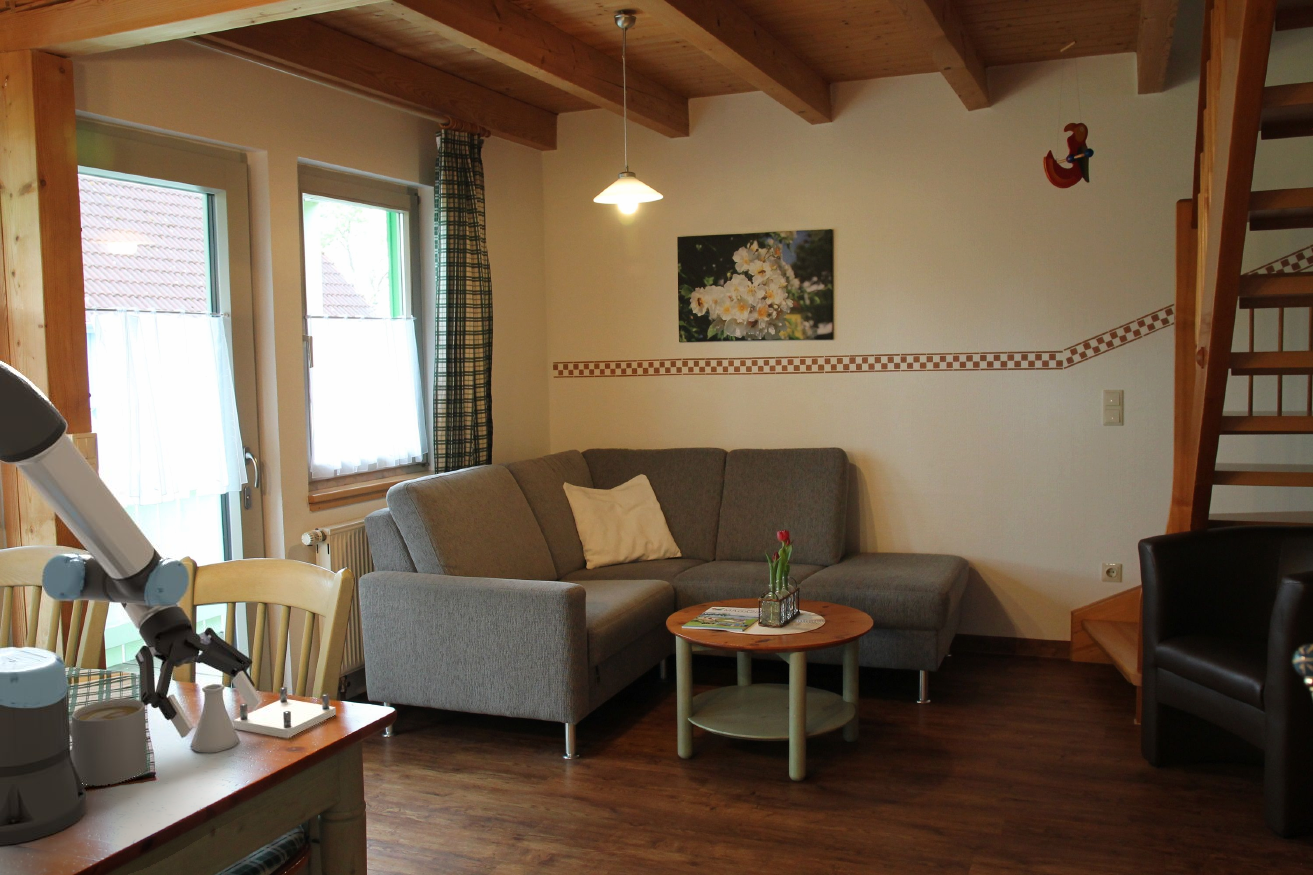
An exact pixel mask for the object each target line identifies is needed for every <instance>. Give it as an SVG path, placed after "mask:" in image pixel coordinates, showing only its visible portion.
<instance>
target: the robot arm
mask: <svg viewBox="0 0 1313 875" xmlns="http://www.w3.org/2000/svg"><path fill="white" fill-rule="evenodd" d="M68 427H69V425H68V422H67V421H66V419H65V417H63V415H62V413H61V412H60V411H59V410H58V408H56V406H55V405H54V404H53V402H52V401H50V399H49V398H48V397H47V396H46V394H44V393H43V392H42V391H41V390H40V389H39V388H38V387H37V386H36V385H35V384H34V383H33V382H32V381H30V380H29V379H28V378H27V377H26V376H24V375H23V374H22V373H20V372H19V371H18V370H17V369H15V368H14V367H12V366H10V365H9V364H7V363H5V362H3V361H1V360H0V462H1V463H4V464H7V465H14V466H15V467H16V468H17V470H18V471H19V472H20V473H21V474H22V475H23V476H24V478H25V479H26V480H27V481H28V483H29V484H30V485H31V486H32V487H33V488H34V490H35V491H36V492H37V493H38V494H39V495H40V497H42V499H43V500H44V501H45V502H46V504H47V505H48V506H49V507H50V508H51V509H52V510H53V512H54V513H55V514H56V515H57V516H58V518H59V519H60V520H61V522H63V524H65V526H66V527H67V528H68V529H69V531H70V532H71V533H72V534H73V536H74V537H75V538H76V539H77V540H78V542H80V543H81V545H82V546H83V547H84V548H85V550H87V552H88V553H87V552H86V553H85V552H84V553H83V552H70V553H62V554H61V553H60V554H56V555H55V556H53V557H51V558H50V559H49V560H48V561H47V562H46V564H45V565H44V568H43V571H42V578H41V583H42V588H43V591H45V594H46V595H47V596H49V598H51V599H53V600H55V601H67V602H74V601H93V602H103V603H104V602H105V603H113V604H114V603H119V604H121V606H122V608H123V609H124V611H125V612H126V614H127V616H128V618H129V619H130V620H131V622H132V623H133V625H134V627H135V628H136V629H137V630H138V633H139V635H140V637H141V638H142V640H143V641H144V643H145V644H146V645H142V646H141V648H140V649H139V650H138V652H137V653H136V654H135V656H134V658H135V661H136V662H137V664H138V667H139V668H138V669H139V685H140V686H139V689H140V701H142V702H143V703H144V705H145V707H146V706H148V705H150V706H151V708H153V709H159V711H160V712H161V714H162V715H163V717H164V719H165V720H167V721H171V723H172V724H173V726H174V727H175V729H176V731H177V733H179V736H180V737H181V739H183V738H185V737H187V736H188V734H190V732H191V731H192V730H193V729H194V724H193V723H192V722H191V720H190V718H189V716H188V715H187V714H186V712H185V710H184V709H183V707H182V706H181V704H180V703H179V702H180V701H178V699H177V698H176V696H175V695H174V693H173V694H169V689H170V686H171V681H172V675H173V672H174V668H180V667H182V666H183V665H189V664H192V663H193V662H195V664H196V663H197V664H203V665H206V666H208V667H211V668H213V669H215V670H217V671H219V672H221V673H224V674H226V675H228V676H230V677H232V678H233V679H232V680H231V682H232V684H233V685H234V687H235V689H236V690H237V692H238V693H239V695H240V696H241V698H242V700H243V701H244V702H245V704H247V708H249V710H250V712H253V711H256V710H257V708H258V707H259V706H260V705H261V703H262V702H263V699H262V698H261V696H260V695H259V693H258V692H257V690H256V689H255V688H254V687H255V686H256V684H255V682H254V681H253V679H252V678H251V676H250V674H249V672H248V669H249V668H250V667H251V666H252V665H253V660H252V659H251V658H250V657H248V656H247V655H245V654H244V653H242V652H241V651H240V650H239V649H237V648H235V647H234V646H233V645H231V644H230V643H228V642H227V641H226V640H224V639H223V638H221V637H220V636H218V634H217V633H216V632H215V630H214V629H213V628H211V627H207V628H205V631H203V632H200V633H197V632H195V631H194V630H193V626H192V622H191V620H190V618H189V617H188V615H187V614H186V612H185V610H184V608H182V607H180V603H179V602H180V601H181V600H182V599H183V597H184V596H185V595H186V593H187V591H188V590H189V589H188V588H189V585H190V574H189V570H188V568H187V566H186V565H185V564H184V563H183V562H182V561H180V560H177V559H173V558H170V557H166V558H164V557H162V556H161V554H160V553H159V552H158V551H157V549H155V547H154V546H153V545H152V543H151V542H150V541H149V539H148V538H147V536H146V535H145V534H144V533H143V531H141V529H140V527H138V525H137V524H136V523H135V521H134V520H133V519H132V517H131V516H130V515H129V513H128V512H127V511H126V509H125V508H124V507H123V505H121V503H120V502H119V500H118V499H117V498H116V496H115V495H114V494H113V493H112V491H111V490H110V489H109V487H108V486H107V485H106V483H105V482H104V481H103V480H102V478H101V477H100V475H99V474H98V473H97V472H96V470H95V469H94V468H93V467H92V466H91V464H90V463H89V462H88V460H87V459H86V458H85V456H84V455H83V454H82V452H81V451H80V450H79V449H78V447H77V446H76V445H75V443H74V442H73V441H72V439H71V438H70V437H69V436H68V434H67V430H68ZM200 651H201V653H200ZM155 658H156V659H157V660H158V659H159V660H160V661H161V665H160V668H159V672H160V673H159V677H158V680H157V684H155V683H156V682H155V681H156V680H155V663H154V662H155V660H154V659H155ZM69 689H70V688H69V679H68V678H67V671H66V664H65V661H64V660H63V659H62V657H61V656H60V655H58V654H57V653H55V652H53V651H51V650H48V649H44V648H40V647H31V646H23V647H15V646H10V647H1V648H0V846H7V845H13V844H19V843H20V844H21V843H25V842H30V841H33V840H38V839H40V838H45V837H47V836H50V835H52V834H55V833H58V832H60V831H62V830H64V829H66V828H68V827H71V826H72V825H75V823H77V822H78V821H79V820H80V819H82V818H83V817H84V815H85V814H86V812H87V809H88V805H87V802H88V801H87V792H86V789H85V787H84V785H82V782H81V780H80V778H79V776H78V774H77V772H76V769H75V767H74V765H73V763H72V761H71V757H70V750H71V746H70V745H71V744H70V742H71V740H70V737H71V735H70V734H69V721H70V708H69V707H70V704H69V700H70V699H69ZM168 694H169V695H168Z"/></svg>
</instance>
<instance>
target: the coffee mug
mask: <svg viewBox="0 0 1313 875" xmlns="http://www.w3.org/2000/svg"><path fill="white" fill-rule="evenodd" d="M146 722H147V721H146V706H145V705H144V703H143V702H142V701H141V700H138V699H133V698H117V699H107V700H103V701H101V700H100V701H96V702H93V703H89V704H86V705H84V706H82V707H79V708H78V709H76V710H74V711H73V712H72V715H71V721H70V720H69V736H70V737H71V745H72V746H71V748H70V757H71V761H72V763H73V765H74V767H75V769H76V772H77V774H78V776H79V778H80V780H81V782H82V783H83V784H87V785H90V786H91V787H99V786H100V787H102V786H109V785H108V784H110V785H114V784H119V782H120V783H122V781H123V782H126V781H125V780H127V781H129V780H131V779H130V778H132V777H134V776H137V775H139V774H140V773H142V772H143V771H144V770H145V769H146V768H147V769H148V754H147V753H148V752H147V749H148V748H147V727H146V725H147V724H146ZM147 769H146V770H147ZM146 770H145V771H146ZM145 771H144V772H145ZM144 772H143V773H144ZM143 773H142V774H143ZM140 775H141V774H140ZM140 775H139V776H140ZM137 777H138V776H137ZM128 779H129V780H128ZM132 779H133V778H132ZM87 785H86V786H87ZM92 785H94V786H92ZM101 785H102V786H101ZM90 786H89V787H90Z"/></svg>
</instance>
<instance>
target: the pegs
mask: <svg viewBox="0 0 1313 875" xmlns="http://www.w3.org/2000/svg"><path fill="white" fill-rule="evenodd" d="M286 696H287V697H286ZM287 699H288V688H287V687H286V686H282V687H280V688H279V700H280V702H281V703H284V702H287ZM321 702H322V703H321V705H322V709H323V710H327V709H329V706H330V694H329V693H323V694H321ZM248 714H249V712H248V706H247V704H246V703H241V704H240V705H239V718H240V720H246V719H248ZM283 720H284V728H289V727H291V711H285V712H283Z"/></svg>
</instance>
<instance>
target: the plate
mask: <svg viewBox="0 0 1313 875" xmlns="http://www.w3.org/2000/svg"><path fill="white" fill-rule="evenodd" d="M285 711H291V727H289V728H284V720H283V712H285ZM334 715H337V708H336V706H331V705H329V709H327V710H323V709H322V704H318V703H312V702H305V701H300V700H294V699H288V698H287V702H284V703H281V702H280V699H279V700H277V701H274V702H272V703H270V704H267V705H266V706H263V707H260V708H258V709H255V710H254V711H250V712H248V719H246V720H240V717H237V718H236V719H233V727H234V729H235V730H240V731H244V732H250V733H257V734H262V735H267V736H273V737H277V736H278V738H282V737H283V739H290V738H292V737H291V736H293V735H295V734H297V733H299V732H301V731H303V730H305V729H306V728H308V727H311V726H312V725H314V724H317V723H319V722H320V721H322V720H325V719H327V718H329V717H332V716H334ZM334 717H335V716H334ZM332 718H333V717H332ZM325 721H326V720H325ZM319 724H320V723H319ZM317 725H318V724H317ZM311 728H312V727H311ZM305 731H306V730H305ZM303 732H304V731H303ZM301 733H302V732H301ZM299 734H300V733H299ZM297 735H298V734H297ZM295 736H296V735H295ZM289 737H290V738H289ZM293 737H294V736H293Z"/></svg>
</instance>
